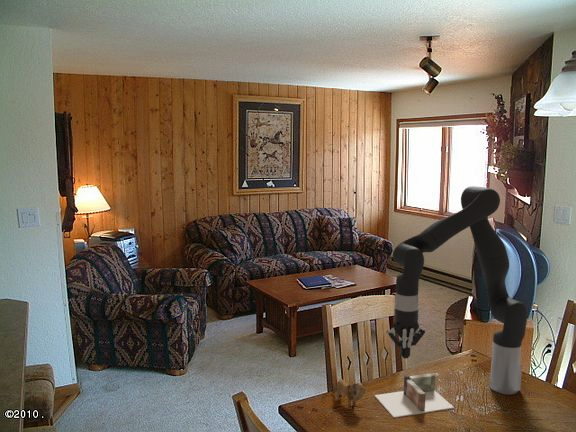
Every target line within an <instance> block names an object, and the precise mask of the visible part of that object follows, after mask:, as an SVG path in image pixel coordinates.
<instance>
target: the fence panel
mask: <svg viewBox="0 0 576 432" xmlns="http://www.w3.org/2000/svg"><path fill="white" fill-rule="evenodd" d="M406 395H407V396H408V397H409V398H410V399H411V400H412V401H413V402H414V403H415V405H416V406H417V407H418V409H419V410H425V398H426V394H425V393H424V392H423V391H422V390H421V389H420V388H419V387H418V386H417V385H416V384H415V383H414V382H413V381H412V380H407V392H406Z"/></svg>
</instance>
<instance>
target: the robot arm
mask: <svg viewBox="0 0 576 432" xmlns="http://www.w3.org/2000/svg"><path fill="white" fill-rule="evenodd" d="M500 204H501V198H500V194H499V193H498V191H496V190H495V189H493V188H489V187H484V186H483V187H482V186H474V185H473V186H467V187H466V188H465V189H464V190H462V192H461V197H460V205H461V210H459V211H457V212H455V213H453V214H451V215H448V216H446V217H444V218H441V219H439V220H437V221H435V222H434V223H432V224H431V225H429V226H428V227H426V228H425V229H424V230H423V231H421V232H420V233H419V234H417V235H414V236H411V237H409V238H407V239H405V240H404V241H402V242H400V243H399V244H397V245H396V247H395V248H394V249H393V252H392V259H393V261H394V263H396V264H397V265H399V266H402V267H403V271H402V273H399V274H398V275H397V276H396V280H395V296H394V314H393V315H394V317H393V318H394V321H393V322H394V323H393V324H392V328H391V329H387V330H386V334H387V335H388V337H390V339H391V341H393V343H394V344H395V345H396V346H397V347H399V351H400V352H399V353H400V356H401V357H402V358H403V360H404V359H409V357H410V356H411V348H412V346H417V345H418V343H419V341H420V340H421V339H422V338H423V336H424V335H425V333H426V330H425V329H424V328H422V327H420V324H419V306H420V298H419V284H420V283H419V281H420V279H421V276H422V272H423V268H424V265H425V257H424V253H433V252H434V251H436V250H437V249H439V248H440V247H441V246H442V245H444V244H445V243H447V242H448V241H449V240H450V239H452V238H453V237H455V236H456V235H458V234H459V233H461V232H463V231H464V230H465V229H467V228H469V229H470V232H471V236H472V238H473V242H474V247H475V250H476V253H477V258H478V261H479V265H480V267H481V271H482V272H481V273H482V275H483V280H484V283H485V287H486V292H487V298H488V307H489V310H490V311H489V312H490V314H491V315H492V317H493V318H494V319H495V320H496V321H498V322H500V323H501V324H503V328H502V330H498V331H495V332H494V333H493V334H492V335H493V337H492V348H491V349H492V350H491V364H490V377H489V387H490V389H491V390H493V391H494V392H496V393H499V394H502V395H516V394H517V393H518V392H519V391H521V385H522V384H521V383H522V375H523V374H522V372H523V371H522V370H523V366H522V364H521V356H522V355H521V354H522V342H523V340H524V338H525V334H526V329H527V322H528V309H527V305H525V304H524V303H523V302H521V301H519V300H517V299H515V298H511V297H510V295H509V293H508V291H507V286H506V279H507V276H508V273H509V270H510V261H509V260H510V259H509V256H508V252H507V248H506V245H505V243H504V242H503V241H502V238H501V237H500V236H499V235H498V233H497V232H496V230H495V229H494V228H493V226H492V225H491V223H490V220H489V218H488V217H490V216H491V215H494V213H495V212H496V211H497V210H498V209H499V207H500ZM396 334H397V335H398V338H397V337H396ZM398 339H399V340H398Z"/></svg>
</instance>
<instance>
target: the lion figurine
mask: <svg viewBox="0 0 576 432" xmlns="http://www.w3.org/2000/svg"><path fill="white" fill-rule="evenodd" d="M367 391H368V390H367V388H366V387H364V386H363V384H362V383H361V382H356V383H353V384H348V383H347V381H346V380H345V379H342V378H341V379H339V380H338V381H337V384H336V387H335V390H333V391H331V393H332V394H335V393H336V392H337V393H336V401H337V402H339V401H341V398H340V396H342V395H344V396H345V397H346V398H347V408H348V410H352V409H353V407H357V406H358V405H357V403H356V402H357V401H359V399H360V400H361V399H362V398H363V397H364V396H365V394H366V392H367ZM352 406H353V407H352Z"/></svg>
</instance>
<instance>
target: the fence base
mask: <svg viewBox="0 0 576 432" xmlns="http://www.w3.org/2000/svg"><path fill="white" fill-rule="evenodd" d="M407 380H412V381H413V382H414V383H415V384H416V385H417V386H418V387H419V388H420V389H421V390H422V391H423V392H427V391H428V392H429V391H431V392H432V391H436V390H435V388H436V374H434V373H433V372H432V373H430V372H429V373H425V374H424V373H423V374H418V375H417V374H416V375H411V376H410V375H404V377H403V391H404V395H406V392H407Z"/></svg>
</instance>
